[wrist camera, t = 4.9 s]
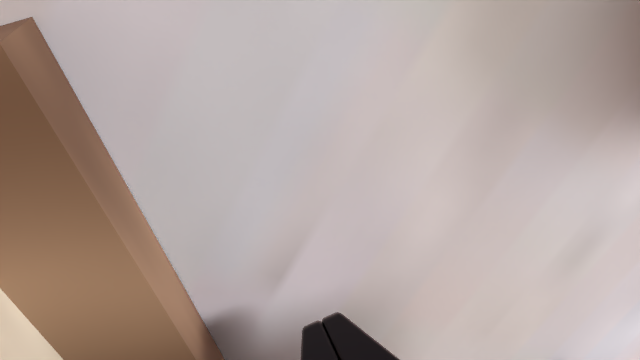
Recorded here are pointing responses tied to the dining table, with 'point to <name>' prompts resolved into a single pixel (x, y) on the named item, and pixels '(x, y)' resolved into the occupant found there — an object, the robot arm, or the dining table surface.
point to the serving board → (79, 226)
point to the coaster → (21, 336)
